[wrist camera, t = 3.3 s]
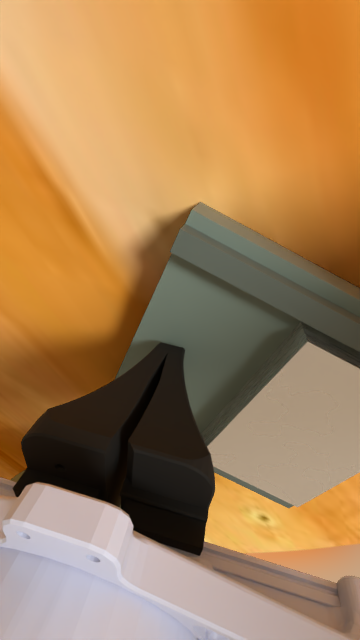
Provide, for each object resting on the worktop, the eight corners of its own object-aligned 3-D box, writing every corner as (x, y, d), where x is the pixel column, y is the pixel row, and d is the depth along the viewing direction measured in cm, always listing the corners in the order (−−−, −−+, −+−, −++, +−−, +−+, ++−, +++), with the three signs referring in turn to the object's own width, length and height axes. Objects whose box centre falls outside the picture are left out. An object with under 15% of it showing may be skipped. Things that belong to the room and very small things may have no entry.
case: (446, 335, 13) (503, 384, 10) (277, 462, 21) (283, 511, 18) (200, 201, 13) (187, 213, 10) (116, 382, 20) (94, 420, 17)
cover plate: (431, 390, 12) (454, 418, 11) (293, 480, 18) (297, 507, 16) (300, 321, 12) (307, 341, 11) (200, 435, 17) (196, 458, 16)
